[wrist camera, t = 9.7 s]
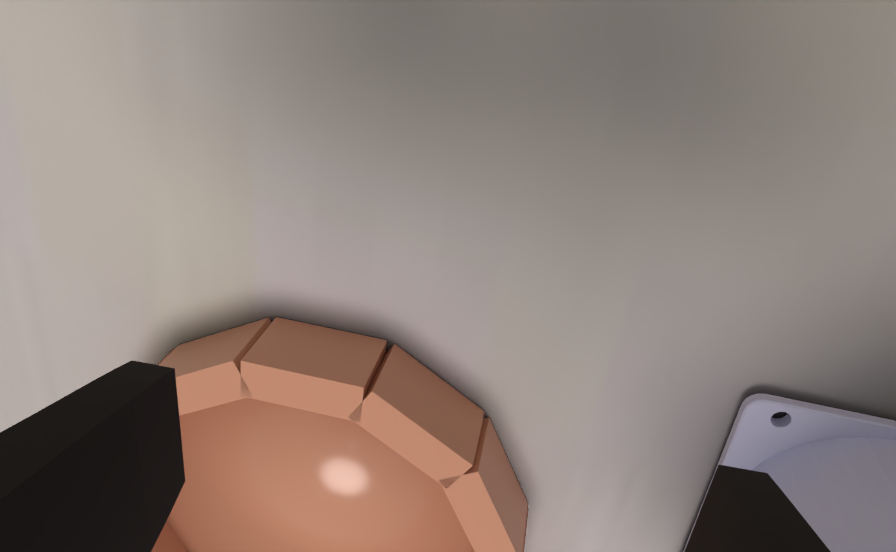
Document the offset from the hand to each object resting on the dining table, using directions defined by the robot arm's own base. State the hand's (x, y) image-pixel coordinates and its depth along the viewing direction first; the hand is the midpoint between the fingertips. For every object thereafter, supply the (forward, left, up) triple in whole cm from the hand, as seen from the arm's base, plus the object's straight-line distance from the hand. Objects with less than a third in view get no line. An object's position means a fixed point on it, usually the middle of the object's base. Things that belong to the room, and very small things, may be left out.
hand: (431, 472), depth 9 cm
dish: (+5, +12, -11) cm, 17 cm away
